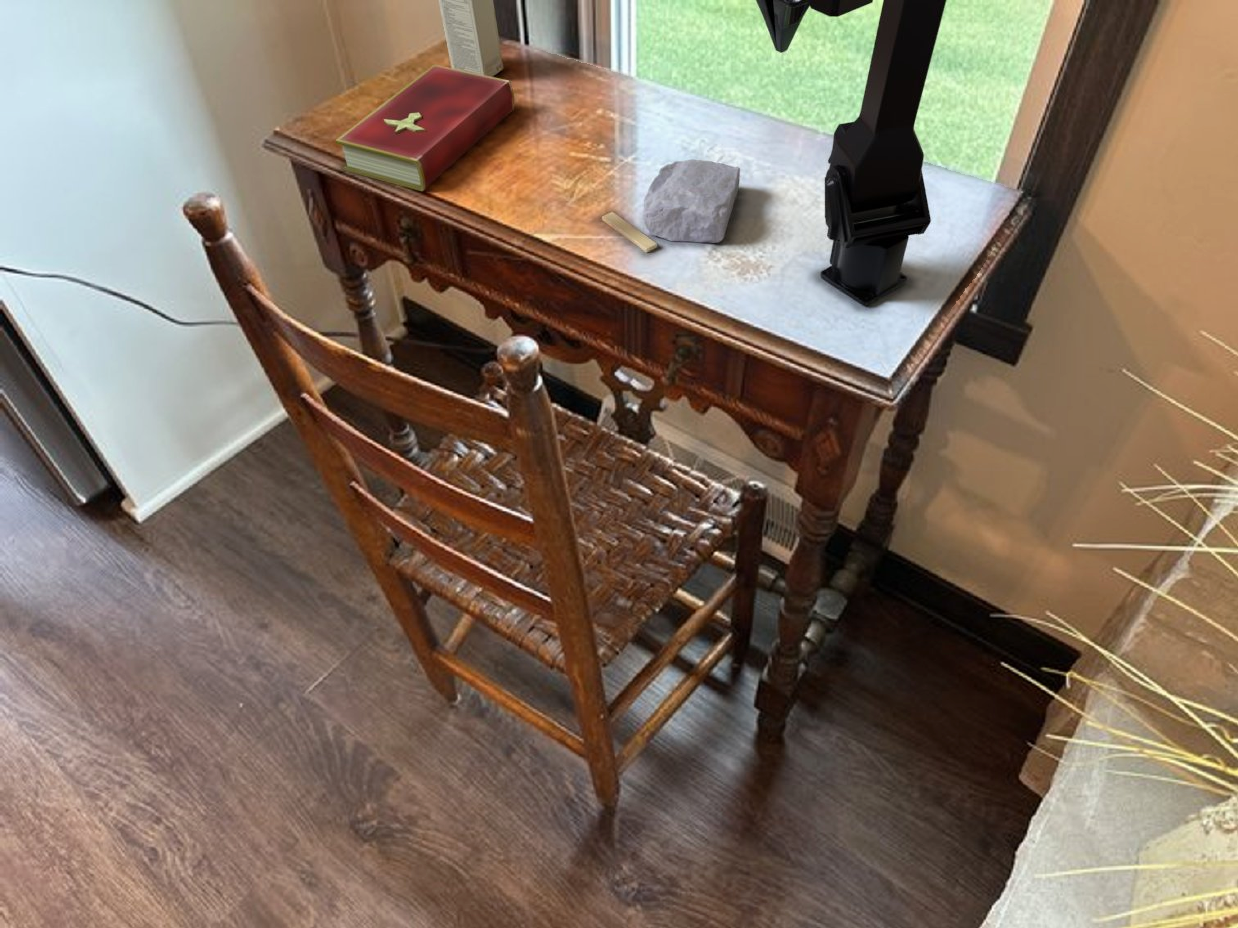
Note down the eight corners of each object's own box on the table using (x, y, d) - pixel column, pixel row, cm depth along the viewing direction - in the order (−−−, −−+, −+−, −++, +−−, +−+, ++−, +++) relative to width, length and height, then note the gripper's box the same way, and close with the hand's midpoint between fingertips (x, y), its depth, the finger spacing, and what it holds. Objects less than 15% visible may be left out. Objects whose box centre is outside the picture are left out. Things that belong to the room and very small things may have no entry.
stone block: (641, 251, 101) (730, 245, 98) (632, 212, 98) (724, 206, 95) (662, 196, 109) (745, 189, 106) (655, 158, 106) (740, 150, 103)
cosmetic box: (504, 70, 127) (492, -23, 118) (484, 83, 125) (471, -10, 116) (469, 60, 130) (455, -32, 120) (449, 72, 127) (433, -20, 118)
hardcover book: (515, 110, 120) (512, 79, 116) (425, 192, 107) (418, 159, 104) (439, 93, 123) (433, 62, 120) (343, 170, 111) (334, 138, 108)
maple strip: (657, 247, 99) (657, 243, 99) (646, 252, 98) (646, 249, 98) (612, 215, 103) (612, 211, 103) (602, 220, 103) (601, 216, 102)
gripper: (927, -103, 88) (894, 58, 100) (790, -147, 98) (775, 4, 110) (847, -74, 84) (823, 90, 95) (712, -123, 94) (705, 31, 105)
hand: (781, 50), depth 102 cm, fingers closed
